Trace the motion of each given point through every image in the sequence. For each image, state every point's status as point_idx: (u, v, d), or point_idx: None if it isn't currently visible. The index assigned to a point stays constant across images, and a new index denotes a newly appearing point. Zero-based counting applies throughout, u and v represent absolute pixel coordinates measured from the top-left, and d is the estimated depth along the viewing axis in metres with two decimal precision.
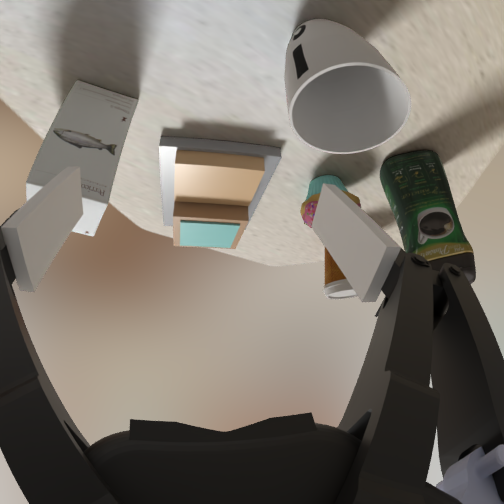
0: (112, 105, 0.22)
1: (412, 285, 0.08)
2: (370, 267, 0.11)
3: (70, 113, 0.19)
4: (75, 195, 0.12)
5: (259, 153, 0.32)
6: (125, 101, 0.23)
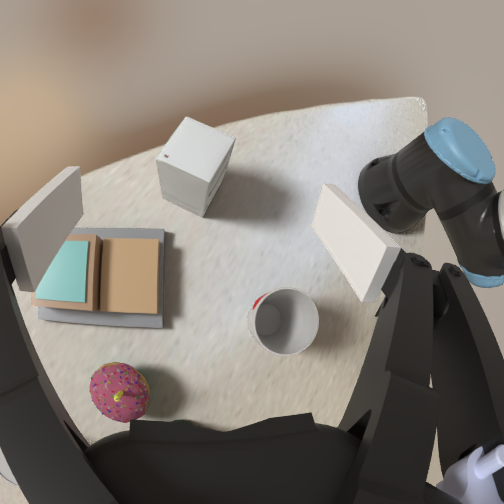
0: None
1: (412, 285, 0.08)
2: (370, 267, 0.11)
3: (223, 173, 0.41)
4: (75, 195, 0.12)
5: (162, 308, 0.39)
6: None
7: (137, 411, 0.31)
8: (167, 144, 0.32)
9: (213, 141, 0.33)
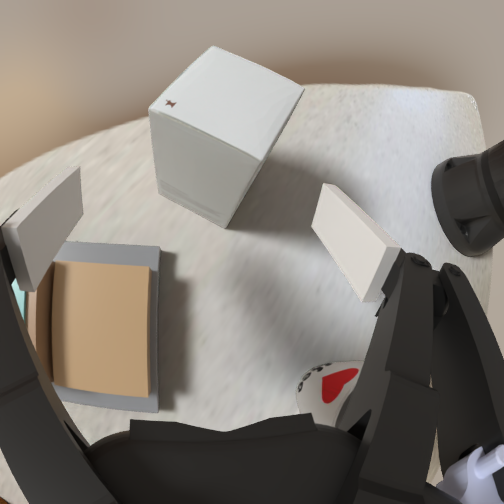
0: None
1: (412, 285, 0.08)
2: (370, 267, 0.11)
3: None
4: (75, 195, 0.12)
5: (156, 383, 0.21)
6: None
7: None
8: (174, 84, 0.15)
9: (265, 86, 0.16)
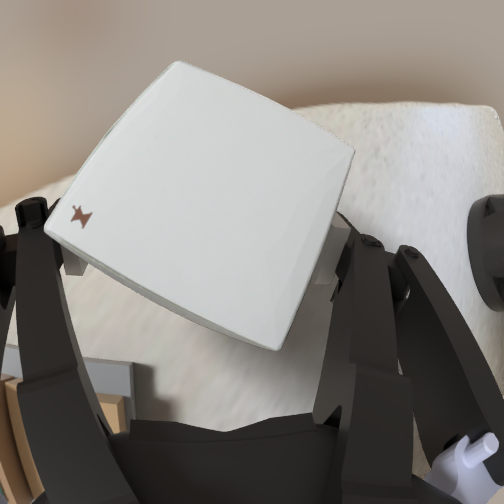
0: None
1: (365, 268, 0.09)
2: None
3: None
4: None
5: None
6: None
7: None
8: (92, 160, 0.07)
9: (284, 151, 0.08)
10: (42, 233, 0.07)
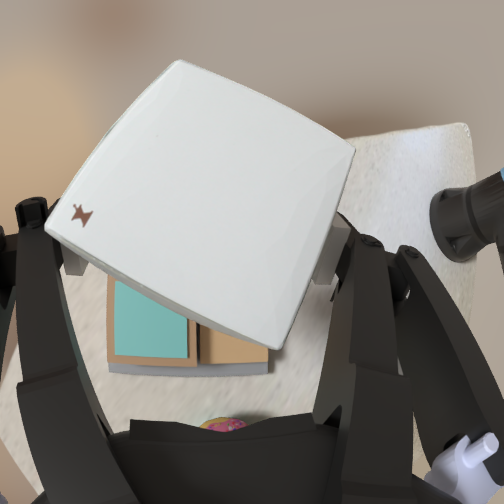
0: None
1: (366, 268, 0.09)
2: None
3: None
4: None
5: None
6: None
7: None
8: (93, 159, 0.07)
9: (284, 150, 0.08)
10: (42, 233, 0.07)
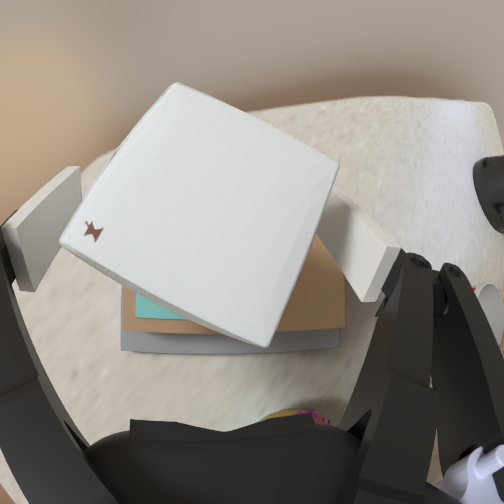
0: None
1: (412, 285, 0.08)
2: (370, 267, 0.11)
3: None
4: (75, 195, 0.12)
5: None
6: None
7: None
8: (101, 180, 0.08)
9: (272, 169, 0.09)
10: None
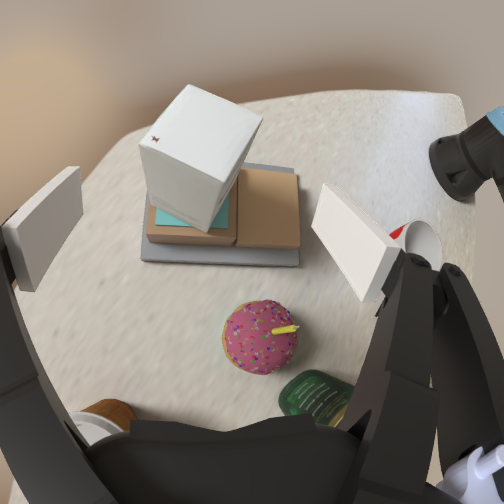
0: None
1: (412, 285, 0.08)
2: (370, 267, 0.11)
3: (238, 171, 0.29)
4: (75, 195, 0.12)
5: None
6: None
7: (287, 354, 0.30)
8: (158, 122, 0.20)
9: (230, 119, 0.21)
10: None
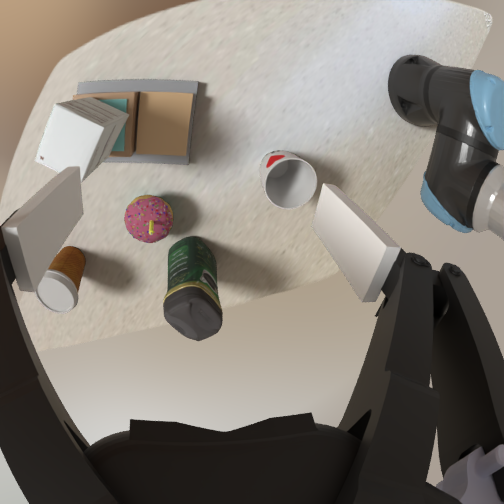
0: (112, 146, 0.36)
1: (412, 285, 0.08)
2: (370, 267, 0.11)
3: (118, 127, 0.32)
4: (75, 195, 0.12)
5: (189, 149, 0.45)
6: (110, 150, 0.37)
7: (162, 234, 0.47)
8: (41, 143, 0.24)
9: (81, 135, 0.25)
10: None
